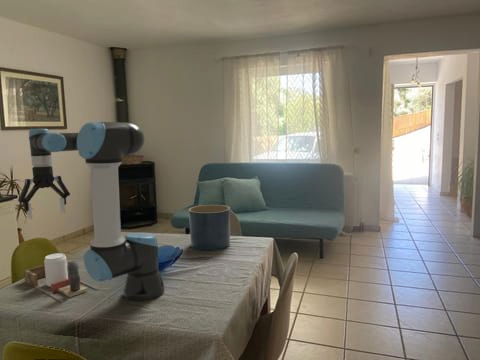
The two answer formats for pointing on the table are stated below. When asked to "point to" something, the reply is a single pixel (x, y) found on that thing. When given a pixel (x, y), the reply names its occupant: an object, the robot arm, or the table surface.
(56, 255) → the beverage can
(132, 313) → the table surface
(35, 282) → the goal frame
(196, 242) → the planter
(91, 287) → the pitch lines
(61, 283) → the rod slider
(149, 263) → the robot arm
